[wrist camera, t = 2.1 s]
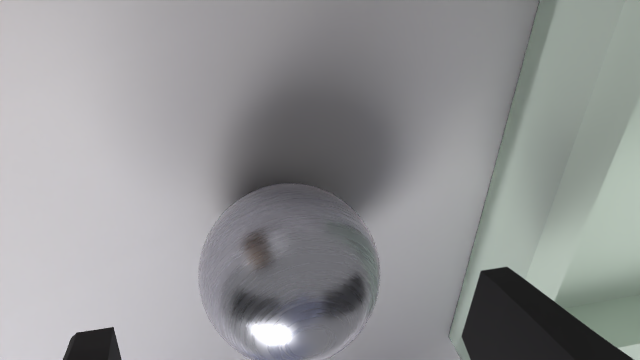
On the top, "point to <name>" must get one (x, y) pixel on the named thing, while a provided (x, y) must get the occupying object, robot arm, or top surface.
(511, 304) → the robot arm
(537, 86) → the tray
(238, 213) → the ball
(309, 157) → the top surface
